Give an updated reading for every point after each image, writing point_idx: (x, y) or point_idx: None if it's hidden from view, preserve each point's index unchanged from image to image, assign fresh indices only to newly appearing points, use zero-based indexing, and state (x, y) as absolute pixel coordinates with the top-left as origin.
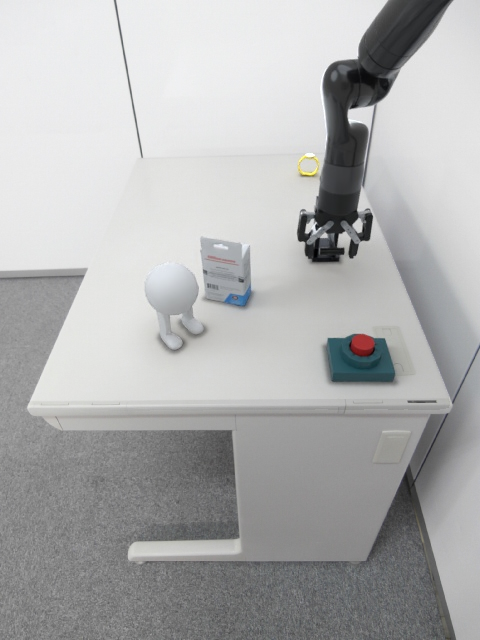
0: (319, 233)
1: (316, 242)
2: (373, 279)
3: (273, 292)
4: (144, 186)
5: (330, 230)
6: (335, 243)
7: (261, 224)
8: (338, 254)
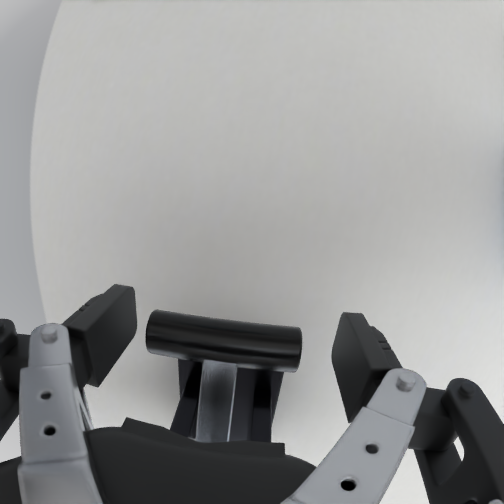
0: (378, 442)
1: (264, 424)
2: (83, 226)
3: (461, 201)
4: None
5: (247, 473)
6: (185, 409)
7: None
8: (187, 314)
